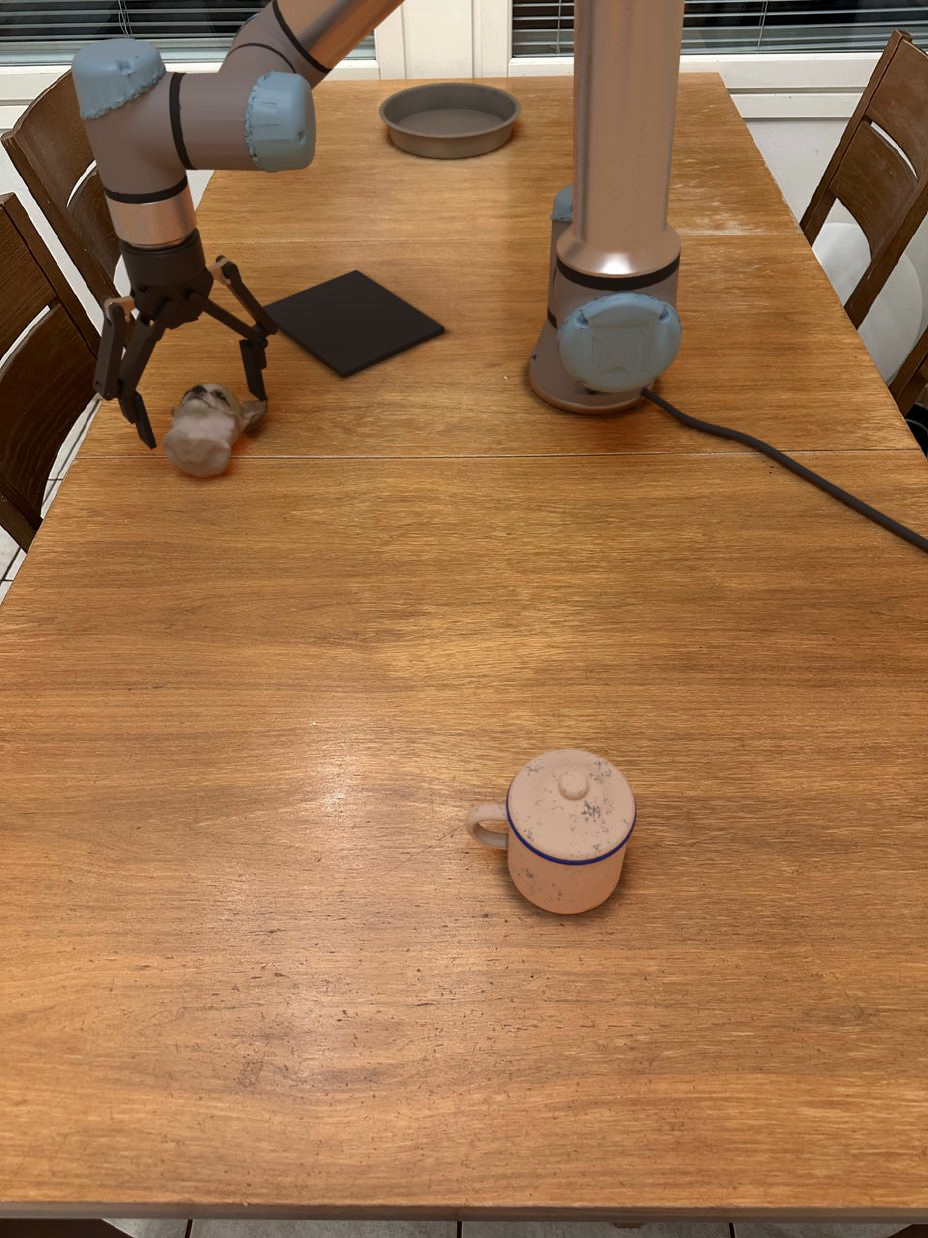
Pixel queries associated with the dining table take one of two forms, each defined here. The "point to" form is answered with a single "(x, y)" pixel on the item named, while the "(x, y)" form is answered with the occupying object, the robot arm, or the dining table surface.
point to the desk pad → (351, 322)
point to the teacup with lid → (562, 829)
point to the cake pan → (450, 119)
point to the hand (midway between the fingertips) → (204, 418)
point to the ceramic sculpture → (209, 428)
